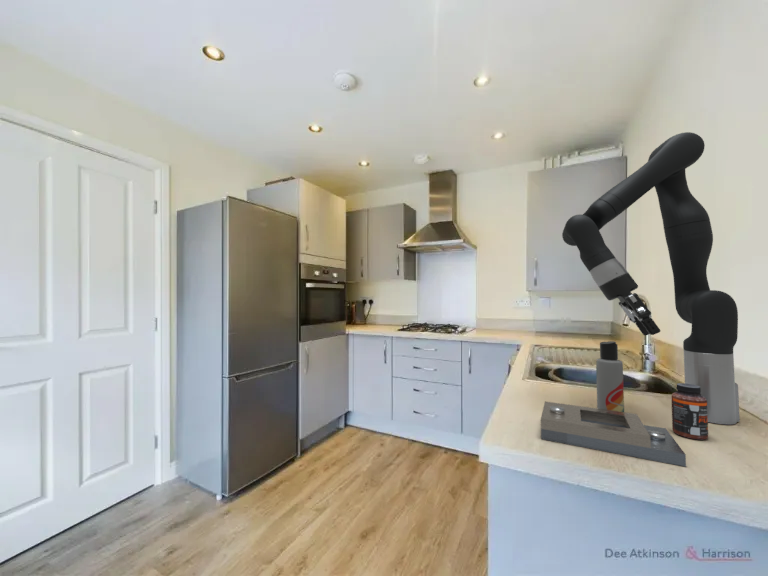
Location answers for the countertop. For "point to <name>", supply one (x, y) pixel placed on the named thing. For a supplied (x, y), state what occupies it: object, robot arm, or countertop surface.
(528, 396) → the countertop surface
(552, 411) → the bolted steel plate
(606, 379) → the lotion bottle
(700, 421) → the supplement bottle
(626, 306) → the robot arm
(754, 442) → the countertop surface
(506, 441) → the countertop surface
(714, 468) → the countertop surface
